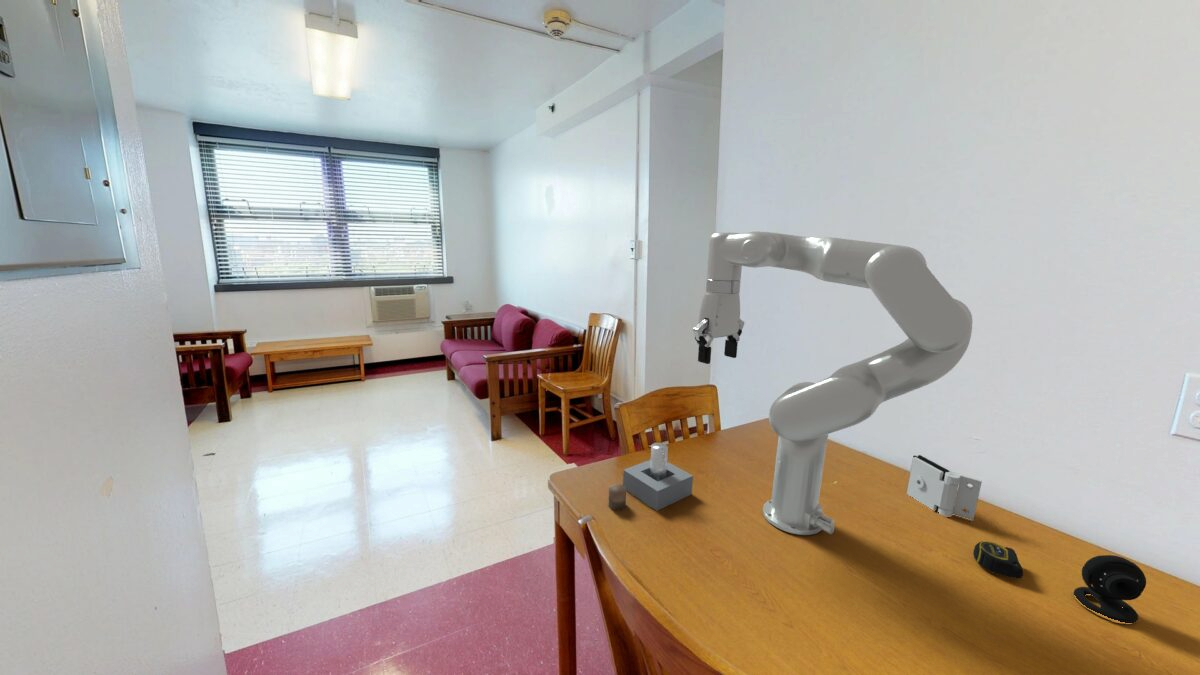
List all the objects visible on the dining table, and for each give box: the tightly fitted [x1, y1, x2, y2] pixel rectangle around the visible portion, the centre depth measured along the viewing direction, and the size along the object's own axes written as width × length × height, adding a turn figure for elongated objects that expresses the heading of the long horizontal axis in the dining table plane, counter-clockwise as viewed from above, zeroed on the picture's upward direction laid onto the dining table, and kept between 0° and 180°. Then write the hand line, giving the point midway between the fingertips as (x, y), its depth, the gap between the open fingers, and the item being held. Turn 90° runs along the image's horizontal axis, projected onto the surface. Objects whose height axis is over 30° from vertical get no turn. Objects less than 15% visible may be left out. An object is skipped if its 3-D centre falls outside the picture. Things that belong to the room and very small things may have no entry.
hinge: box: [906, 454, 983, 521], centre depth 106 cm, size 14×5×10 cm, turn 23°
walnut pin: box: [608, 483, 627, 512], centre depth 105 cm, size 4×4×4 cm
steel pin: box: [650, 442, 669, 481], centre depth 110 cm, size 4×4×12 cm
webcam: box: [1073, 554, 1147, 624], centre depth 77 cm, size 8×8×10 cm
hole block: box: [622, 459, 694, 511], centre depth 111 cm, size 12×12×5 cm
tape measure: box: [972, 540, 1024, 580], centre depth 87 cm, size 7×7×4 cm
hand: (717, 359), depth 107 cm, fingers open, 9 cm apart
